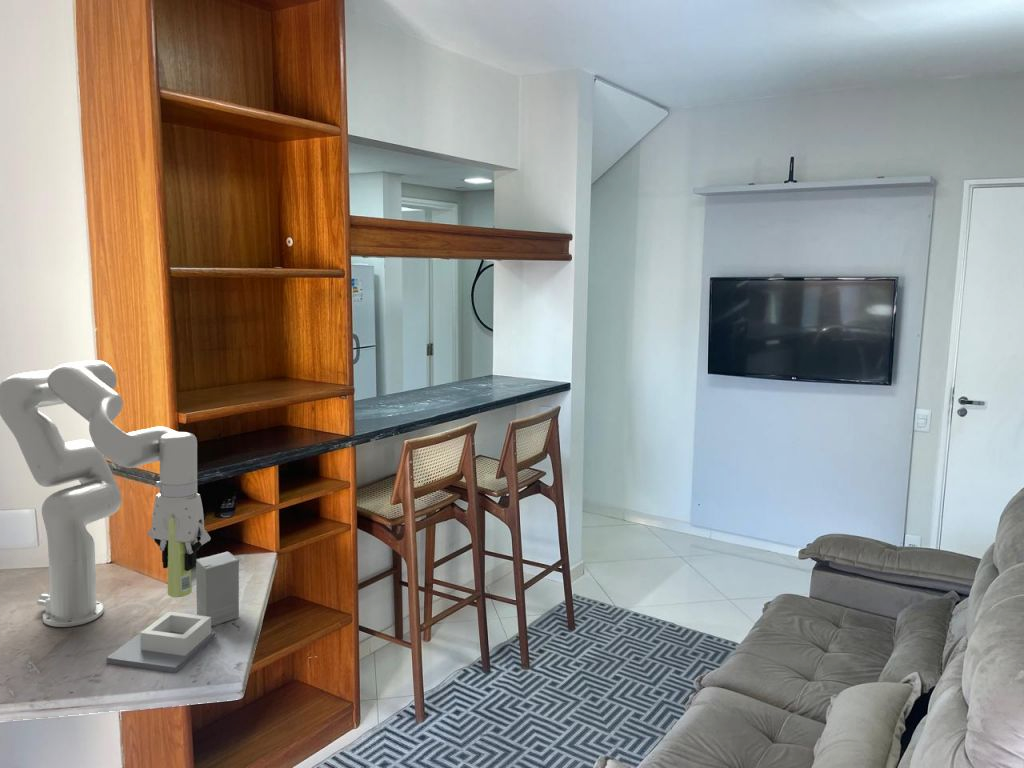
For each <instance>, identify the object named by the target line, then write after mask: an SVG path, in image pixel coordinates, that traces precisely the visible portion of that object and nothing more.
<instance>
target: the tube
mask: <svg viewBox="0 0 1024 768" xmlns="http://www.w3.org/2000/svg"><path fill="white" fill-rule="evenodd" d="M175 529H176V528H175V522H174V519H173V517H172V514H171V515H170V520H169V541H168V567H167V595H168V596H169V597H172V598H183V597H185V596H189V595H190V594H191V593H192V592H193V591H192V590H193V589H192V588H193V587H192V585H193V584H192V569H191V570H189V571H186V570H185V554H186V553H187V548H186V544H185V542H177V541H175V531H176V530H175Z"/></svg>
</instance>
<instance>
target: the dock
mask: <svg viewBox="0 0 1024 768" xmlns="http://www.w3.org/2000/svg"><path fill="white" fill-rule="evenodd" d="M216 634H217V632H216V631H212V626H211V617H207V616H199V615H197V614H192V613H182V612H176V611H175V612H174V611H168V612H166V613H164V614H163V615H162V616H160V618H158V619H157V620H156V621H154V622H153V623H151V624H149V625H148V626H147V627H145V628H144V629H142V630H141V631H139V632H138V633H137V634H136V635H135V636H134V637H132V638H130V639H129V640H128V641H127V642H125V643H124V644H123V645H121V646H120V647H119V648H118V649H116V650H114V651H113V652H112V653H111V654H110V655H108V656H107V657H106V658H105V659H106V660H105V661H106V662H105V663H106V664H112V665H117V666H118V665H119V666H127V667H133V668H140V669H146V670H147V669H148V670H153V671H161V672H167V673H168V672H169V673H174V674H176V673H178V672H179V671H180V669H181V668H183V667H184V666H185V665H186V664H187V663H188V662H190V661H191V660H192V659H193V658H194V657H195V656H196V655H197V654H198V653H200V652H201V651H202V650H203V649H204V648H205V647H206V646H208V644H210V643H211V641H213V640H214V639H215V638H216V637H217V635H216Z"/></svg>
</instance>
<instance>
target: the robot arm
mask: <svg viewBox="0 0 1024 768" xmlns="http://www.w3.org/2000/svg"><path fill="white" fill-rule="evenodd" d="M117 383H118V382H117V375H116V372H115V370H114V369H113V368H112V366H111V365H109V364H108V363H107V362H104V361H103V360H83V361H76V362H75V361H74V362H68V363H63V364H60V365H58V366H56V367H55V368H53V369H48V370H47V369H46V370H37V371H28V372H22V373H18V374H13V375H11V376H9V377H6V378H5V379H4V380H3V381H1V382H0V417H1V419H2V421H3V422H4V423H5V425H6V426H7V427H8V429H9V430H10V432H11V433H12V434H13V436H14V437H15V440H16V441H17V444H18V446H19V448H20V451H21V453H22V456H23V458H24V460H25V462H26V464H27V466H28V467H27V468H29V471H30V473H31V476H32V477H33V479H34V480H35V482H36V483H37V484H38V485H39V486H41V487H44V488H50V487H57V486H60V485H65V484H67V483H71V482H75V481H79V483H80V484H77V485H73V486H70V487H65V488H63V489H62V488H61V489H59V490H58V491H55V492H53V493H52V494H50V495H48V497H46V499H45V500H44V501H43V503H42V506H41V515H42V516H41V517H42V520H43V525H44V528H45V531H46V538H47V552H48V553H47V555H48V556H47V557H48V578H49V579H48V582H49V583H48V584H49V593H44V592H43V593H41V594H40V596H39V599H38V600H37V602H36V604H37V606H40V607H45V611H44V612H43V614H42V621H43V623H44V624H45V625H47V626H50V627H53V628H54V627H56V628H68V627H69V628H70V627H75V626H81V625H84V624H88V623H90V622H92V621H95V620H96V619H98V618H99V617H100V616H101V615H103V613H104V608H105V607H104V604H103V603H102V602H100V601H99V600H97V583H96V581H97V579H96V575H97V574H96V573H97V572H96V546H95V545H96V544H95V540H94V538H93V536H92V535H91V533H90V532H89V531H88V529H87V528H86V526H87V525H89V524H91V523H94V522H97V521H99V520H103V519H104V518H108V517H110V516H113V515H114V514H115V513H117V512H118V511H119V509H120V507H121V506H122V495H121V491H120V488H119V485H118V484H117V481H116V479H115V477H114V474H113V472H112V471H111V468H110V465H109V463H108V461H107V459H108V460H110V461H111V462H112V463H114V464H115V465H117V466H119V467H122V468H125V469H132V468H137V467H140V466H143V465H148V464H151V463H156V462H159V481H158V480H157V481H156V482H155V484H154V486H155V488H157V489H159V493H157V494H156V495H155V501H154V503H153V504H154V505H153V511H152V519H151V520H152V521H151V528H150V530H149V531H148V532H147V536H149V537H150V538H151V539H152V540H154V542H155V544H157V546H158V547H159V548H158V550H160V551H161V561H162V569H168V541H169V520H170V515H171V514H172V517H173V519H174V522H175V528H176V529H175V530H176V531H175V541H177V542H185V544H186V548H187V553H186V554H185V570H186V571H189V570H191V571H192V570H193V568H196V562H197V559H198V558H197V553H198V552H197V551H198V550H199V549H200V548H201V547H203V545H204V544H206V543H208V542H210V541H211V536H210V535H209V533H208V532H207V530H206V529H205V519H204V518H205V515H204V508H203V503H202V498H201V494H200V493H198V440H197V437H196V436H195V434H194V433H191V432H187V431H177V430H174V429H172V428H170V427H168V426H167V427H166V426H161V425H160V426H159V425H158V426H153V427H150V428H149V427H148V428H144V429H139V430H135V431H130V432H128V433H127V432H125V431H123V430H122V429H121V428H119V427H118V426H117V425H116V424H115V423H114V422H113V421H114V420H116V418H117V417H118V416H119V414H120V413H121V411H122V409H123V405H124V400H123V398H122V396H121V395H120V394H119V393H118V392H116V391H115V390H114V389H115V387H116V386H117ZM64 404H66V405H67V406H69V408H71V409H72V410H73V411H75V412H76V413H77V414H79V415H80V416H81V417H82V418H84V419H85V420H86V421H87V422H89V424H88V432H89V436H90V439H91V441H90V440H87V439H76V440H71V441H67V442H66V441H65V440H64V439H63V437H62V436H61V433H60V431H59V428H58V427H57V425H56V424H55V423H54V421H53V420H51V419H50V418H49V417H48V416H47V415H46V414H44V413H42V412H41V411H39V410H38V409H39V408H45V407H51V406H56V405H64ZM106 458H107V459H106ZM199 537H200V539H199V540H198V538H199Z"/></svg>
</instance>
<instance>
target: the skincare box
mask: <svg viewBox="0 0 1024 768" xmlns="http://www.w3.org/2000/svg"><path fill="white" fill-rule="evenodd" d="M195 570H196V571H195V573H196V575H195V576H196V578H195V579H196V580H195V581H196V584H195V585H196V615H199V616H207V617H211V627H214V626H216V625H217V626H218V625H220V624H222V623H226V622H229V621H232V620H235V619H238V618H239V617H240V605H239V604H240V602H239V601H240V597H239V596H240V595H239V593H240V590H239V588H240V587H239V586H240V585H239V583H240V580H239V579H240V576H239V575H240V573H239V572H240V571H239V570H240V560H239V559H238V558H237V557H235V556H234V555H233V553H231V552H229V551H225V552H221V553H217V554H212V555H210V556H204V557H200V558H197V562H196V565H195Z"/></svg>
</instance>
